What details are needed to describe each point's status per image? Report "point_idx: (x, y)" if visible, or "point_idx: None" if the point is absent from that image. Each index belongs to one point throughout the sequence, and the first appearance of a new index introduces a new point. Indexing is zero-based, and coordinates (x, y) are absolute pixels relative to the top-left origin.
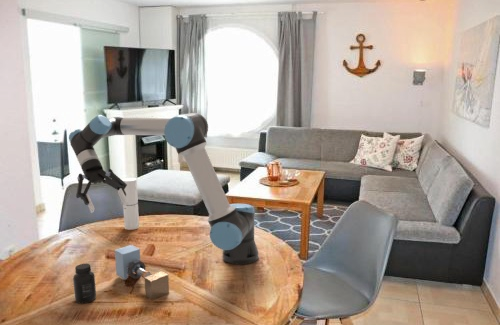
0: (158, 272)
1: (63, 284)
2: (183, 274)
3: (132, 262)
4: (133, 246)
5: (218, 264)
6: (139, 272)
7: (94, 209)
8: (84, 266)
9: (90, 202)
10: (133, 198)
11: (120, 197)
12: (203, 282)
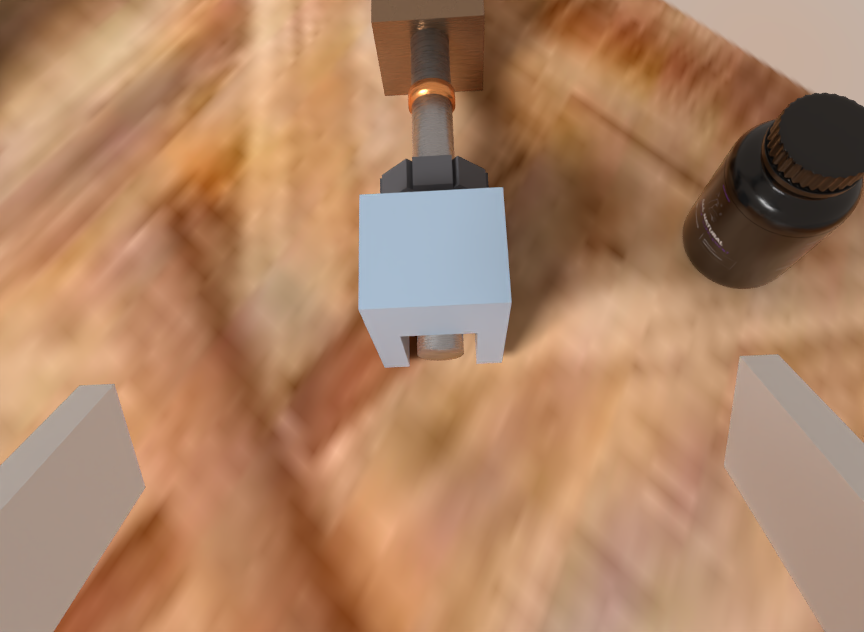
0: (395, 18)
1: None
2: (212, 155)
3: (452, 181)
4: (366, 266)
5: (8, 132)
6: (451, 132)
7: (738, 378)
8: (821, 123)
9: (854, 441)
10: None
11: (53, 615)
12: (207, 36)
